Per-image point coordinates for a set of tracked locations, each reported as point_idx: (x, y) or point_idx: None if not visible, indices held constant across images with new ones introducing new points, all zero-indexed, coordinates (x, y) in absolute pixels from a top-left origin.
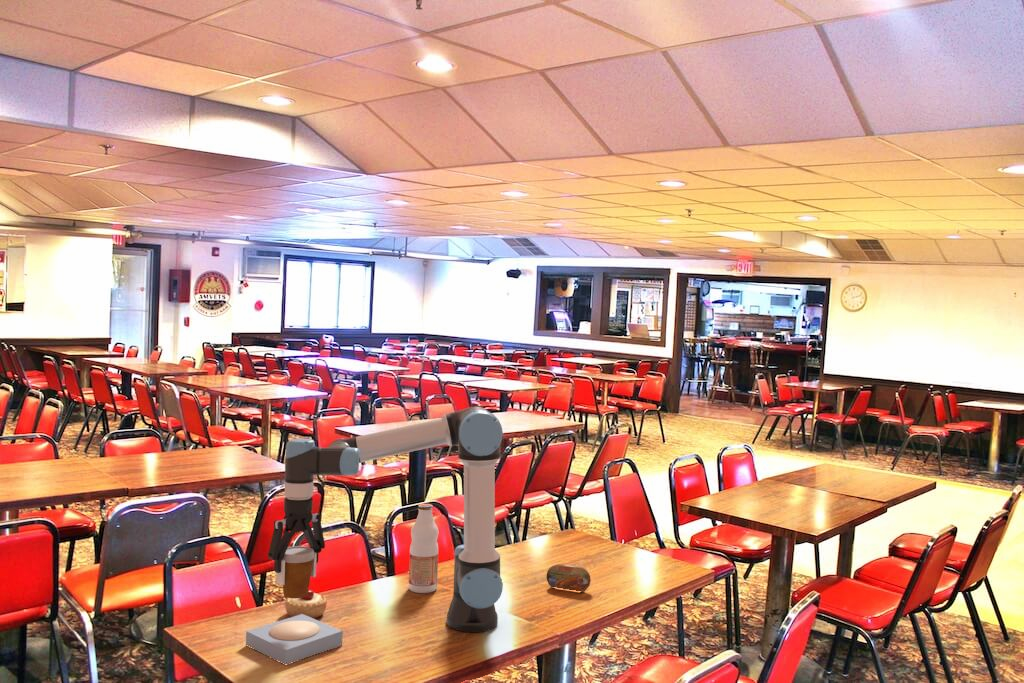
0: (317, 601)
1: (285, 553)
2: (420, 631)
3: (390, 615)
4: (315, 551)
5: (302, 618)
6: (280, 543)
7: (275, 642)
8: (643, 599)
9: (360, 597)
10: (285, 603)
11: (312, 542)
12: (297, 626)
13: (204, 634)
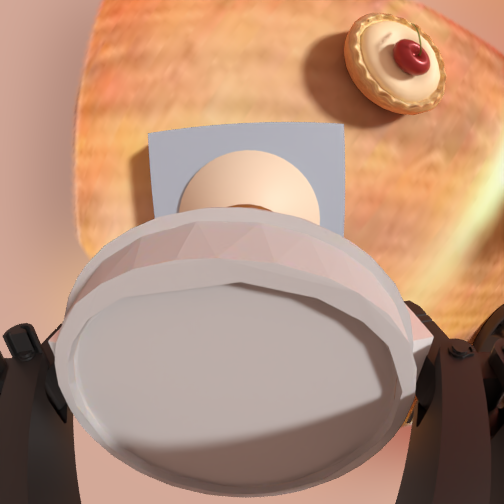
0: (416, 98)
1: (86, 422)
2: (453, 321)
3: (485, 224)
4: (420, 393)
5: (322, 154)
6: (1, 459)
7: None
8: None
9: (500, 103)
10: (350, 29)
11: (401, 491)
12: (268, 208)
13: (135, 26)
